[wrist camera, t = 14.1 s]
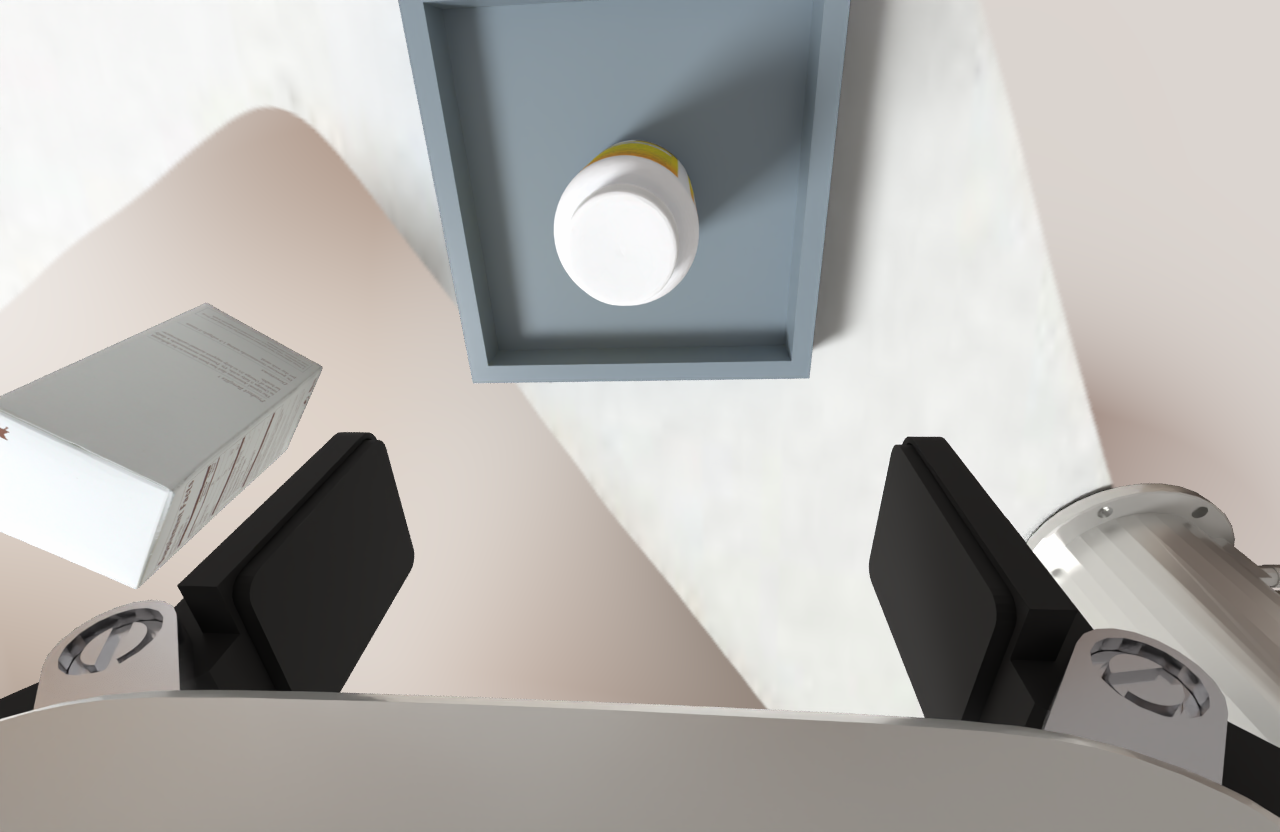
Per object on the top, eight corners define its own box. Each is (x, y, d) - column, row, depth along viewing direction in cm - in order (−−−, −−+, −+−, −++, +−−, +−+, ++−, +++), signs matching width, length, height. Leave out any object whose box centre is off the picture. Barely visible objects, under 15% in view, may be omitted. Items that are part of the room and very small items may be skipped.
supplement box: (176, 391, 37) (-39, 520, 26) (207, 297, 33) (-24, 398, 22) (290, 451, 38) (134, 595, 27) (329, 367, 35) (171, 492, 24)
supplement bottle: (558, 180, 29) (506, 222, 20) (656, 113, 27) (647, 126, 18) (620, 277, 31) (598, 354, 22) (713, 221, 29) (730, 279, 20)
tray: (837, -40, 25) (856, -55, 22) (798, 355, 33) (809, 378, 31) (421, -15, 26) (392, -28, 23) (488, 361, 34) (473, 383, 32)
